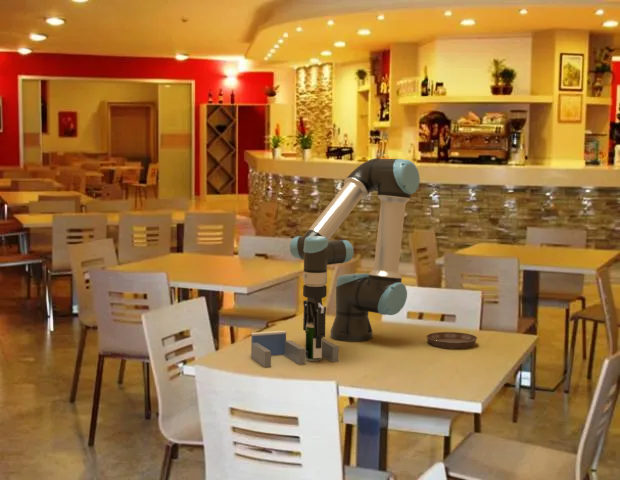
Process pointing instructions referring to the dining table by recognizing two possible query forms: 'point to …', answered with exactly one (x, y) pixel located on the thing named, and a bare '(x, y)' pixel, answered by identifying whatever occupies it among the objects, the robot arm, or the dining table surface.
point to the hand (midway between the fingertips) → (313, 355)
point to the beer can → (310, 342)
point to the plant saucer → (451, 340)
